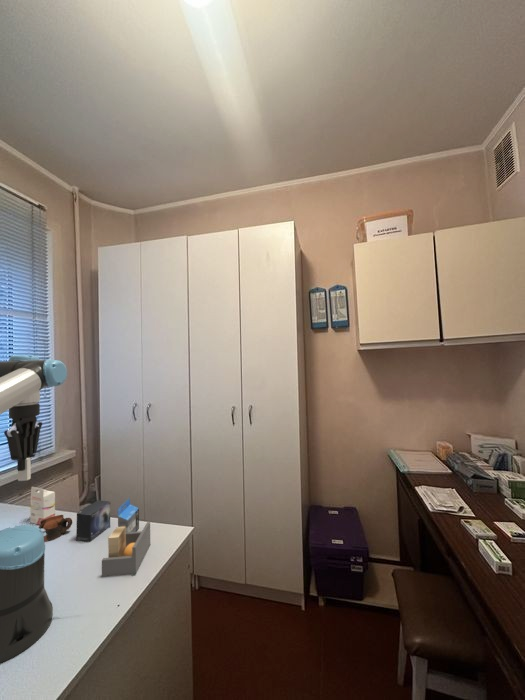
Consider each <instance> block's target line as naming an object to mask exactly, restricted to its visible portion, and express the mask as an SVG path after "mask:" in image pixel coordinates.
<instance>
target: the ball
mask: <svg viewBox="0 0 525 700" xmlns="http://www.w3.org/2000/svg"><path fill="white" fill-rule="evenodd" d="M134 544H135V543H130V544H129V545H128V546H127V547H126V548H125V550H124V556H132V547H133V546H134Z"/></svg>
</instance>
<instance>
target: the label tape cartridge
mask: <svg viewBox="0 0 525 700" xmlns="http://www.w3.org/2000/svg"><path fill="white" fill-rule="evenodd" d="M125 526H126V532H138V531H139V529H140V508H139V507H137V506H135V505H133V504H131V498H130V497H129V498H128V499H126V501H124V502H123V503H122V504H121V505H120V506H119V507H118V508H117V527H125Z"/></svg>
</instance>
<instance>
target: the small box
mask: <svg viewBox="0 0 525 700" xmlns="http://www.w3.org/2000/svg"><path fill="white" fill-rule="evenodd" d="M110 528H111V501H108V500H101V499H98V500H96V501H94V502H93V503H91V504H89V505H88V506H87V507H85V508H84V507H83V509H81V510H80V511H78V512H76V535H75V536H76V537H75V538H76V539H75V541H76V542H82V543H83V542H84V543H91V542H92V541H94V540H95V539H96V538H97V537H99V536H100V535H101V534H103V533H104V532H105V531H106V530H108V529H110Z"/></svg>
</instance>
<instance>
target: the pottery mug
mask: <svg viewBox="0 0 525 700" xmlns="http://www.w3.org/2000/svg"><path fill="white" fill-rule="evenodd" d="M40 523H41V525H38V528H40V529H41V530H42V529H43V530H45V534H46V535H44V542H45V543H48V542H51V541H55V540H57V539H58V538H60V537H61V535H64V534H66V532H67V531H68V530H69V529H70V528H71V526H72V525H73V519H72V518H71V517H65V518H64V514H57V515H55V516H53V517H50V518H47V519H45V520H43V521H41V522H40Z"/></svg>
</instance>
